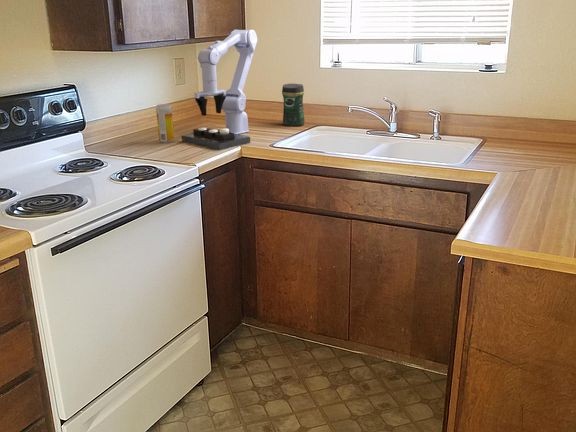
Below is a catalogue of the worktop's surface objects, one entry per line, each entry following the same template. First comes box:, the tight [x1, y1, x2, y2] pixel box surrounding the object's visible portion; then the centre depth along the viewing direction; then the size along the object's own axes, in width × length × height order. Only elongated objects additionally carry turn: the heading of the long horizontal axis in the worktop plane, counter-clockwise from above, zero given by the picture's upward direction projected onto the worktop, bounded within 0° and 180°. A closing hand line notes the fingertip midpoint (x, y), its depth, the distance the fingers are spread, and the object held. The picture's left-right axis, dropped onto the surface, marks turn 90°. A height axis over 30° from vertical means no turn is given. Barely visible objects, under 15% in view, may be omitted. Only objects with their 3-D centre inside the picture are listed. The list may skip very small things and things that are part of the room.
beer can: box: [155, 103, 175, 144], centre depth 237 cm, size 6×6×15 cm
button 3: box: [219, 127, 229, 135], centre depth 230 cm, size 4×4×2 cm
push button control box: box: [181, 127, 251, 151], centre depth 237 cm, size 16×26×5 cm, turn 46°
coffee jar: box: [281, 83, 305, 127], centre depth 265 cm, size 10×8×19 cm
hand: (211, 114), depth 238 cm, fingers open, 7 cm apart
